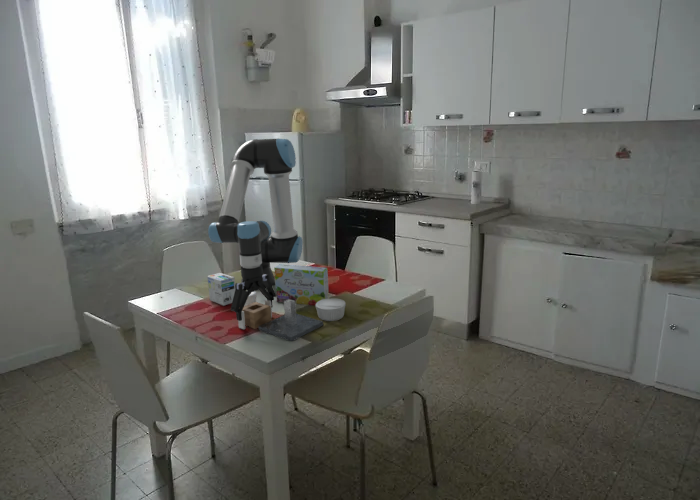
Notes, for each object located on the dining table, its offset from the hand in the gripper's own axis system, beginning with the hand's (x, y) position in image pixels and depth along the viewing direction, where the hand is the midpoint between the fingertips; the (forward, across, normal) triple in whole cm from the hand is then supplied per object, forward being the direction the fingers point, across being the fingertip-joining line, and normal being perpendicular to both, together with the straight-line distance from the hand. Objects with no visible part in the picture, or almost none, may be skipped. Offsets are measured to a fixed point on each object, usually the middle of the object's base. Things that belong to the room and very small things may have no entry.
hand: (255, 322), depth 174 cm
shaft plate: (0, +4, -14) cm, 15 cm away
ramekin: (+1, +20, -19) cm, 28 cm away
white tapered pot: (0, +7, +12) cm, 14 cm away
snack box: (0, +25, 0) cm, 25 cm away
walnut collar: (0, 0, 0) cm, 0 cm away
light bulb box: (0, +8, +29) cm, 30 cm away
